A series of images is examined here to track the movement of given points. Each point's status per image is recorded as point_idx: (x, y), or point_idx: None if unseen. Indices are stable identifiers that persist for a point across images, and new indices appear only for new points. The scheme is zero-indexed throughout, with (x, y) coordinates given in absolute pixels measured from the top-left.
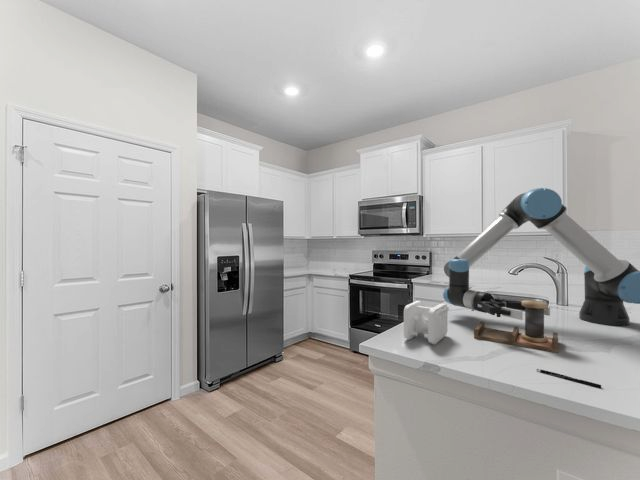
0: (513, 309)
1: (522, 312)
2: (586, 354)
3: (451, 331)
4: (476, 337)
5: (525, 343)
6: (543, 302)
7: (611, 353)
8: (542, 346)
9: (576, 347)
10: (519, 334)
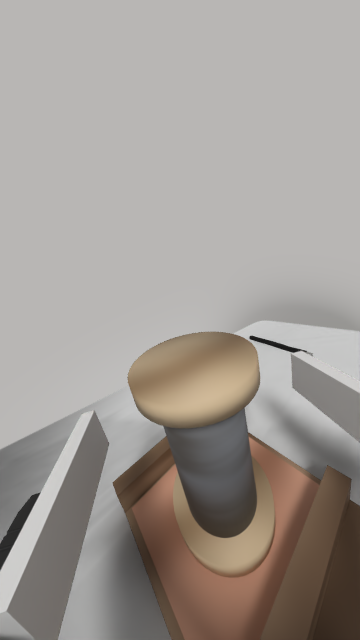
0: (337, 374)
1: (291, 359)
2: None
3: None
4: None
5: (283, 462)
6: (144, 359)
7: (113, 411)
8: None
9: (131, 447)
10: None
